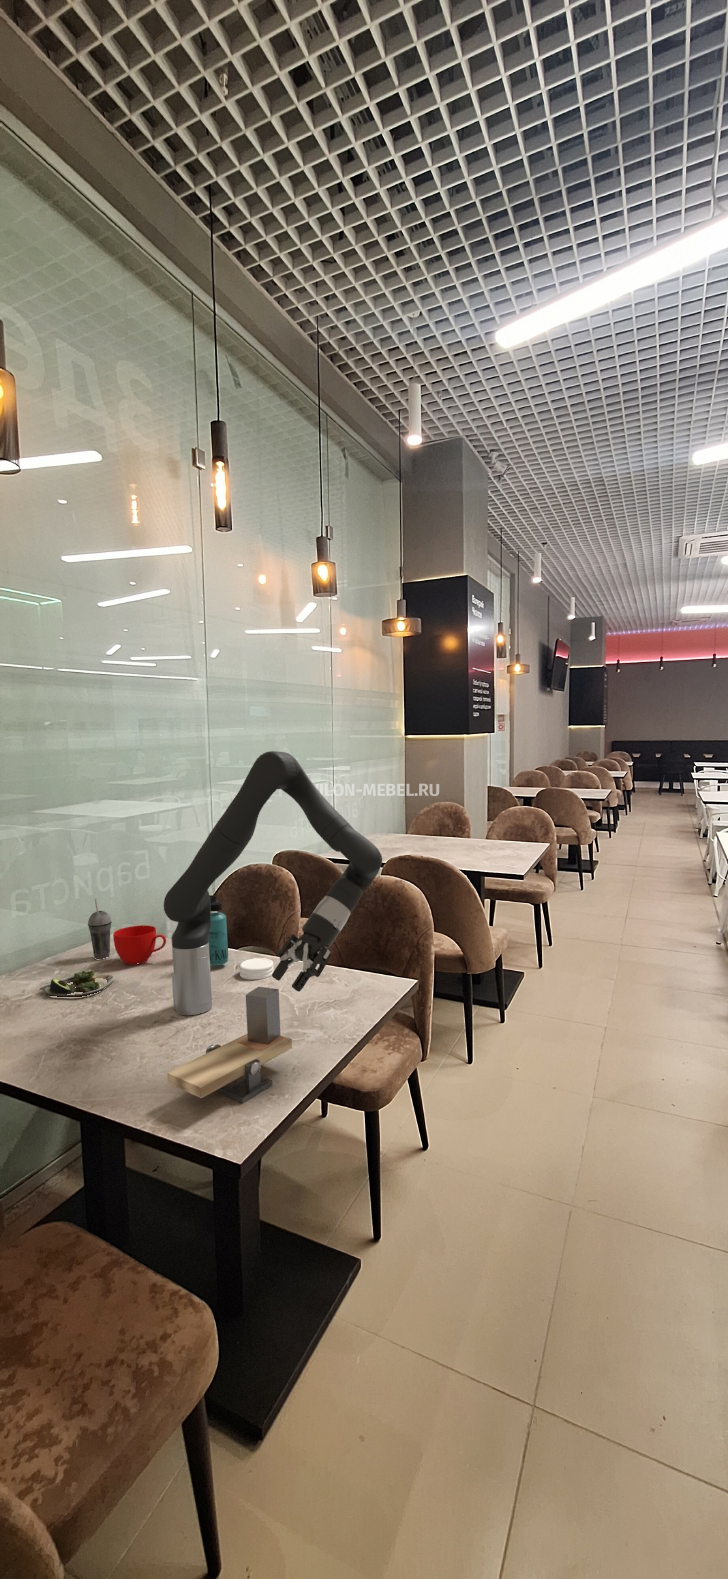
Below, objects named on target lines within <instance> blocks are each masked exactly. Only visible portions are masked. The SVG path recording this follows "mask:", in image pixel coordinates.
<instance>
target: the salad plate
mask: <svg viewBox="0 0 728 1579" xmlns="http://www.w3.org/2000/svg"><path fill="white" fill-rule="evenodd" d="M99 972H101V970H100V969H94V970H91V969H88V970H87V971H86V970H82V971H79V972H74V974H72V975H67V976H66V977H64V978H62V979H58V978H52V979H51V980H50V984H47V985H43V986H42V987H39V991H43V993H44V994H45V995H46V996H47V995H49V996H57V997H82V996H87V995H90V994H94V993H97V992H99V991H101V992H102V991H104V990H105V989H106V988H108V987H109V986H110V985H111V984H112V983H113V982H114V981H115V976H114V975H113V974H98V973H99ZM96 978H103V979H106V980H107V984H106V985H105V986H104V985H103V986H102V985H101V982H95V979H96ZM70 982H73V984H71V985H68V984H67V983H70ZM108 985H109V986H108ZM107 986H108V987H107ZM75 987H76V988H75ZM105 987H106V988H105ZM104 988H105V989H104ZM103 989H104V990H103ZM74 992H83V993H82V994H75V995H67V994H71V993H74Z"/></svg>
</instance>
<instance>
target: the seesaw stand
mask: <svg viewBox="0 0 728 1579" xmlns="http://www.w3.org/2000/svg"><path fill="white" fill-rule="evenodd" d="M221 1046H222V1045H220V1044H216V1045H213V1044H210V1045H208V1046H207V1048H206V1049H205V1054H206V1053H208V1052H211V1051H213V1050H215V1049H217V1048H219V1047H221ZM261 1069H262V1065H260V1060H257V1059H255V1060H254V1061H252V1062H250V1063H248V1064H246V1065H245V1075H243V1076H241V1077H239V1078H237V1079H235V1080H234V1081H232V1082H230V1083H228V1084H226V1085H225V1086H223V1087H221V1088H219V1089H217V1090H216V1091H215V1092H216V1093H218V1094H221V1095H223V1096H225V1097H228V1098H230V1099H232V1100H235V1101H237V1102H239V1103H241V1104H244V1103H245V1102H247V1101H249V1100H250V1099H251V1100H252V1098H254V1097H255V1096H258V1095H259V1094H260V1093H262V1092H264V1091H266V1090H267V1089H269V1088H271V1087H272V1086H273V1079H270V1078H267V1077H266V1076H265V1077H264V1076H263V1075H261Z"/></svg>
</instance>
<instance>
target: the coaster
mask: <svg viewBox="0 0 728 1579" xmlns="http://www.w3.org/2000/svg"><path fill="white" fill-rule="evenodd" d="M274 970H275V967H274V961H273V960H271V959H269V958H264V957H257V958H250V959H246V960H244V961H242V962H240V963H239V975H240V977H241V978H242V979H243V980H248V981H249V980H250V981H254V980H256V981H257V980H264V979H266V978H270V977H272V973H273V972H274Z"/></svg>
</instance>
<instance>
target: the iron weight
mask: <svg viewBox="0 0 728 1579" xmlns="http://www.w3.org/2000/svg"><path fill="white" fill-rule="evenodd" d="M279 989H280V988H272V987H265V986H257V987H256V988H254V989H253V990H251V991H250V992H248V993H246V994H245V1005H246V1006H245V1007H246V1026H247V1027H246V1030H247V1033H246V1034H247V1036H248V1041H249V1042H255V1043H260V1044H266V1045H269V1044H270V1043H271V1042H272V1041H274V1040H275V1039H276V1038H277V1037H279V1036H280V1035H281V1018H280V1017H281V1015H280V1014H281V1013H280V990H279ZM281 1036H282V1035H281Z"/></svg>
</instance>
